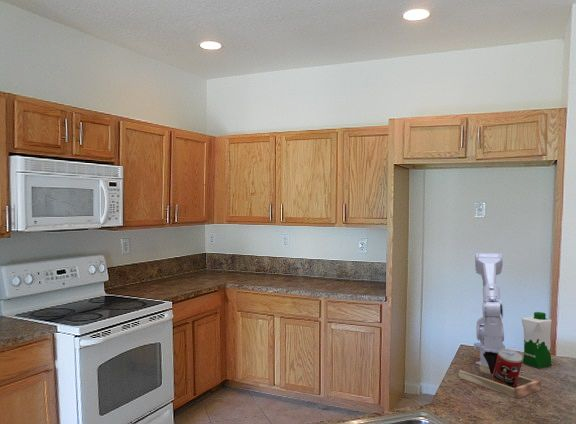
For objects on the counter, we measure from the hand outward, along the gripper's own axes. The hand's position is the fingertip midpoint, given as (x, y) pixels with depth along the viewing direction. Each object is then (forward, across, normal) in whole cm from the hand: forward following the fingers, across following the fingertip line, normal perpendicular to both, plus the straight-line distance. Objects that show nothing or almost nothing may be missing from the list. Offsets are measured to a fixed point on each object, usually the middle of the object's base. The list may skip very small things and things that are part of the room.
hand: (493, 373), depth 161 cm
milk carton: (+3, -2, +30) cm, 30 cm away
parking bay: (+3, +1, 0) cm, 3 cm away
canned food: (+2, +4, 0) cm, 4 cm away
